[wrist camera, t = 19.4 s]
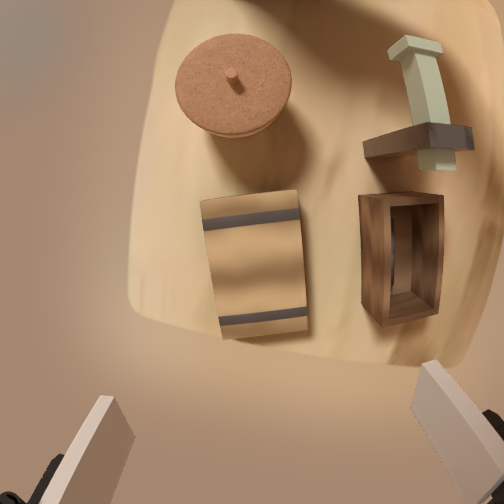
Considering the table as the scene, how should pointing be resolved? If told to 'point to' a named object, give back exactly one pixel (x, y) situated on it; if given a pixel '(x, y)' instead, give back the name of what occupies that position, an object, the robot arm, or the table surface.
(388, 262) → the open wooden box
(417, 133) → the keeper
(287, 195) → the lid
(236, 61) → the lidded jar
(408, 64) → the bolt
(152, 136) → the table surface
